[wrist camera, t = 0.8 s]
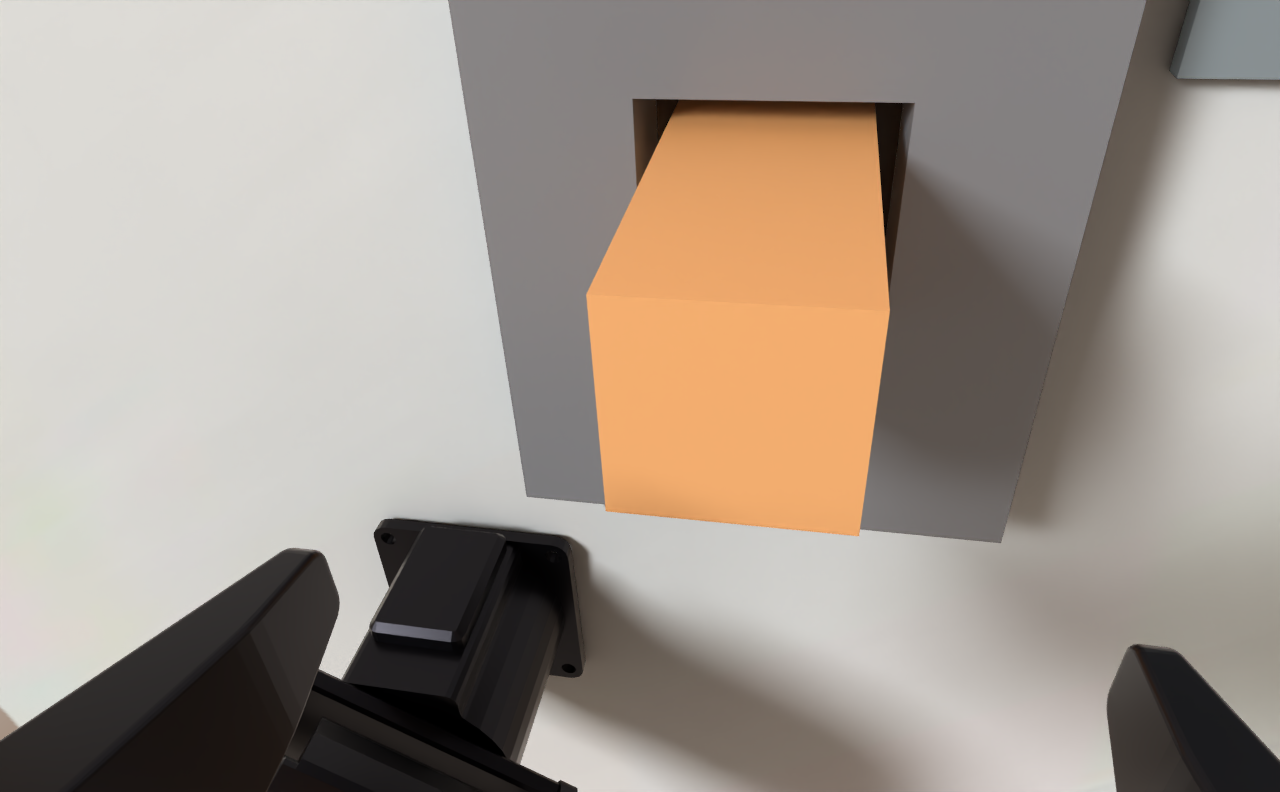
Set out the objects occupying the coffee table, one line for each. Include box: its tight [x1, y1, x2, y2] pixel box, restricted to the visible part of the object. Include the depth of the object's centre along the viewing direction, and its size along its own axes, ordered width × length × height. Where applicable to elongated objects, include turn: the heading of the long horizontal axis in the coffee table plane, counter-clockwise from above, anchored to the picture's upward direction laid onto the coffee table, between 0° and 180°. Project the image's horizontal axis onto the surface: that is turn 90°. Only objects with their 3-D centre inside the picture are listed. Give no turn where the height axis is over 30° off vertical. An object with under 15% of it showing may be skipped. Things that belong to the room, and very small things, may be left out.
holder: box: [448, 0, 1146, 543], centre depth 19 cm, size 16×12×2 cm
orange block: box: [586, 99, 890, 536], centre depth 16 cm, size 4×4×9 cm
